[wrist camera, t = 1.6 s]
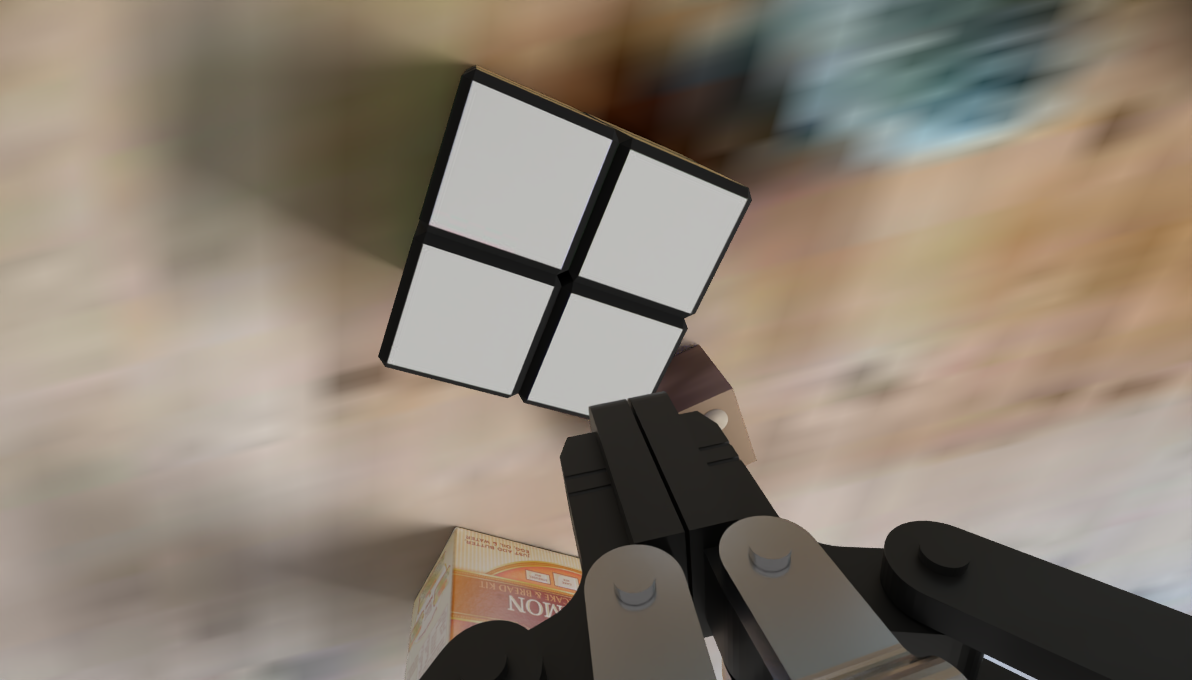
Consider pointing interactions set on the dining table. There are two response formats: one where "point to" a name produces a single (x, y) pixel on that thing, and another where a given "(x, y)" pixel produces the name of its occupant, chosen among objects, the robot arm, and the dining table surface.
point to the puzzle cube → (555, 253)
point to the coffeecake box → (486, 591)
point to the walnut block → (707, 397)
